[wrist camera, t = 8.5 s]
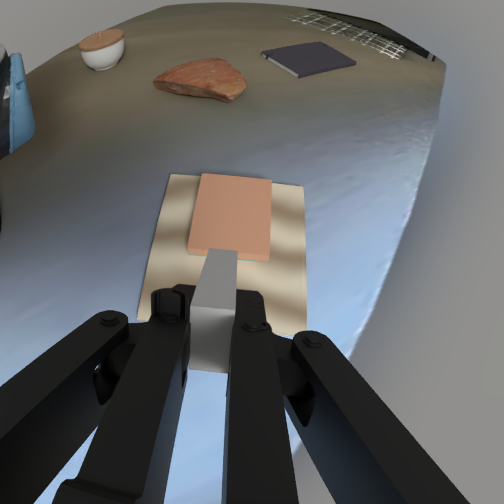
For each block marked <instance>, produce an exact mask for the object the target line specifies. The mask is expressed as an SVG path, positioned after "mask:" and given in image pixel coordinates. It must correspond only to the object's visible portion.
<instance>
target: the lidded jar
mask: <svg viewBox="0 0 504 504" xmlns="http://www.w3.org/2000/svg"><path fill="white" fill-rule="evenodd" d="M79 50H80V53H81V56H82V59H83V61H84V62H85V64H86V65H87V66H89V67H90V68H93V69H94V70H96V71H102V70H106V69H109V68H111V67H113V66H115V65H116V64H117V63H118V60H119V59H120V58H121V56H122V54H123V51H124V32H123V31H122V30H120V29H110V30H105V31H99V32H98V33H95V34H92V35H90V36H88V37H86V38H85V39H83V40H82V41H81V42H80V43H79Z"/></svg>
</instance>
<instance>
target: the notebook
mask: <svg viewBox="0 0 504 504" xmlns="http://www.w3.org/2000/svg"><path fill="white" fill-rule="evenodd" d="M262 53H263V55H262V56H263V57H265V58H266V59H268V60H270V61H272V62H273V63H275V64H277V65H278V66H280V67H282V68H283V69H285V70H287V71H288V72H290V73H291V74H293V75H295V76H296V77H298V78H302V77H306V76H309V75H313V74H317V73H322V72H326V71H330V70H335V69H339V68H344V67H349V66H354V65H356V61H354V60H352V59H351V58H349V57H347V56H346V55H344V54H342V53H340V52H339V51H337V50H335V49H333V48H332V47H330V46H328V45H326V44H324V43H322V42H313V43H306V44H299V45H293V46H287V47H282V48H276V49H271V50H266V51H262Z"/></svg>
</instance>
